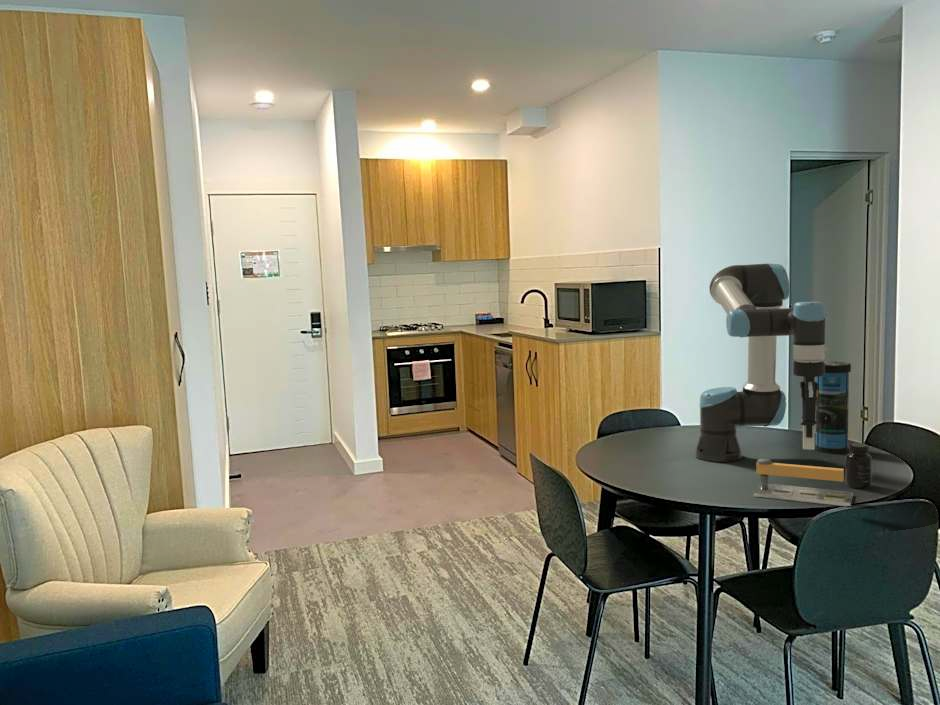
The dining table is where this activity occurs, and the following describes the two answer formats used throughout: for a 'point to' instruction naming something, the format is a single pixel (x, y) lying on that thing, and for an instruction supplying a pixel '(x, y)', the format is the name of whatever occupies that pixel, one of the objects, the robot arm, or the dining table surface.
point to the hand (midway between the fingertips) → (808, 448)
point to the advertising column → (833, 408)
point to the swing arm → (799, 471)
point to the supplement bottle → (858, 467)
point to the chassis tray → (802, 493)
